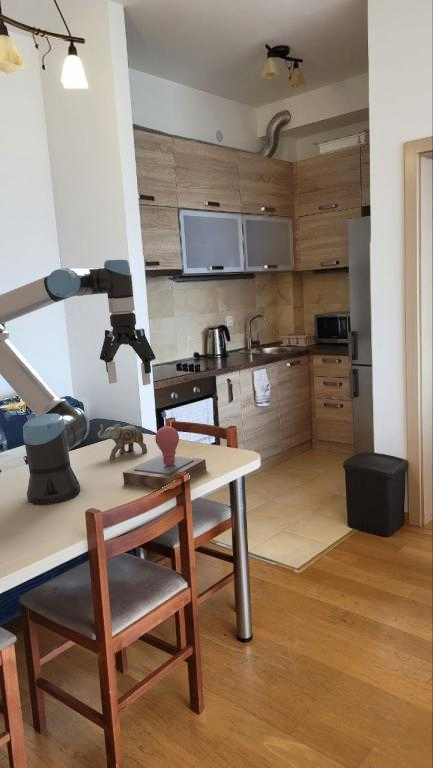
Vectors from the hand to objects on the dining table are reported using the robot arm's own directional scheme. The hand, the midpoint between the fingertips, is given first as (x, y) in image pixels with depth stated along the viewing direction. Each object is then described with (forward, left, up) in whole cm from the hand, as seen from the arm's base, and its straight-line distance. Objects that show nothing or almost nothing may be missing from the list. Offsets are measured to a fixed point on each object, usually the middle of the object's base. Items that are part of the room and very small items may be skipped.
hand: (129, 383), depth 173 cm
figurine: (-24, +18, -30) cm, 42 cm away
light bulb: (+10, +3, -26) cm, 28 cm away
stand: (+7, +3, -30) cm, 31 cm away
